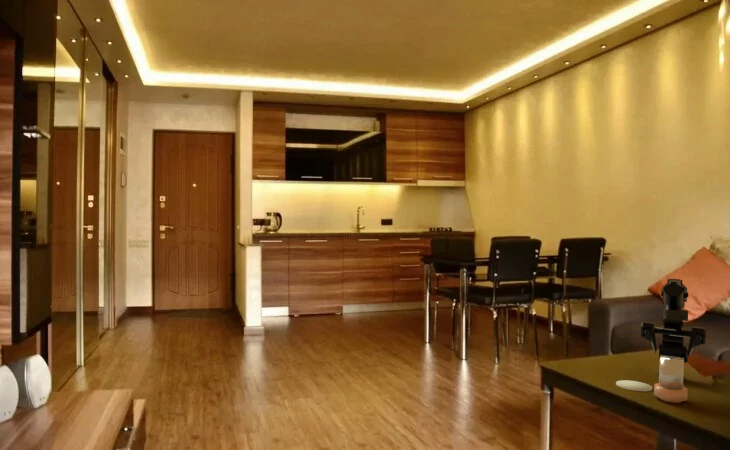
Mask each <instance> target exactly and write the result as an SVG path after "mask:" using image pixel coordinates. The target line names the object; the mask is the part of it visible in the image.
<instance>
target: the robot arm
mask: <svg viewBox="0 0 730 450" xmlns="http://www.w3.org/2000/svg"><path fill="white" fill-rule="evenodd" d="M666 282H667V283H665V284H664V285H663V286H662V287H661V292H660V296H661V298H662V301H663V314H662V315H663V317H662V327H661V326H659V327H658V326H655V323H654V322H648V321H643V322H641V323H640V337H642V338H644V339H645V340H647V341H648V342H649V343H650V344H651V347H652V349H653V351H654V353H655V354H656V353H657V348H658V360H659V361H660V356H674V357H679V358H682V359H684V364H685V363H688V358H690V356H691V354H692V352H693V351H694V349H695V348H696V347H697V346H701V345H705V344H706V340H707V339H706V337H707V330H706V329H705V328H704V327H698V326H691V330H684V329H683V328H684V322H689V310H688V309H687V310H685V307H686V305H685V304H686V303H687V302H688V297H689V292H688V287H687V286H685V284H683V280H682V279H680V278H668V279H667V281H666ZM656 334H658V335H662V336H661V342H659V345H658V347H657V341H656V340H657V339H656ZM684 338H688V339H689V341H688V347H687V345H685V344H684V341H685V339H684ZM657 375H658V376H659V372H658V373H657ZM683 380H686V377H685V376H683Z"/></svg>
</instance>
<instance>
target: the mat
mask: <svg viewBox="0 0 730 450" xmlns="http://www.w3.org/2000/svg"><path fill="white" fill-rule="evenodd" d="M615 385H616V387H619V388H621V389H624V390H628V391H632V392H645V393H646V392H651V391H653V386H652V385H650V384H648V383H645V382H641V381H637V380H627V379H626V380H625V379H624V380H622V379H621V380H617V381H615Z"/></svg>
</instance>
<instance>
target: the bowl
mask: <svg viewBox="0 0 730 450" xmlns="http://www.w3.org/2000/svg"><path fill="white" fill-rule="evenodd" d="M653 387H654V390H653V391H654V392H653V394H654V395H653V396H655V397H657V398H659V400H661V401H663V402H665V403H666V402H667V403H672V404H680V403H682V402H685V401H687V400H688V388H687V387H686V386H683V390H670V389H665V388H662V387H660V386H659V382H657V383H654V386H653Z"/></svg>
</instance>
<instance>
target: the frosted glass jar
mask: <svg viewBox="0 0 730 450" xmlns="http://www.w3.org/2000/svg"><path fill="white" fill-rule="evenodd" d="M684 364H685V363H684V359H682V358H679V357H674V356H662V355H661V356H660V360H659V366H658V367H659V368H658V369H659V370H658V373H659V375H658V383H659V386H660V387H662V388H665V389H670V390H683V387H684V379H683V377H684V370H685V369H684V367H685V365H684Z"/></svg>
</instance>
